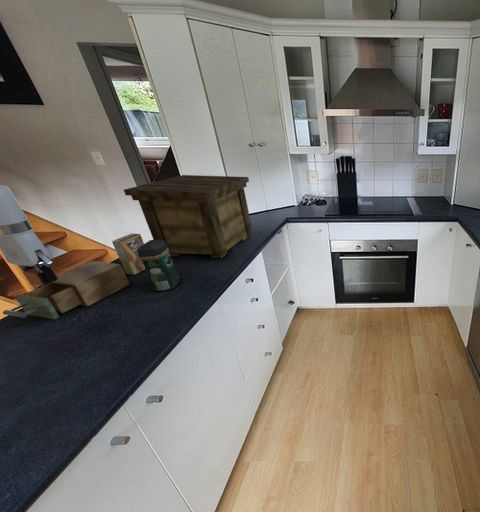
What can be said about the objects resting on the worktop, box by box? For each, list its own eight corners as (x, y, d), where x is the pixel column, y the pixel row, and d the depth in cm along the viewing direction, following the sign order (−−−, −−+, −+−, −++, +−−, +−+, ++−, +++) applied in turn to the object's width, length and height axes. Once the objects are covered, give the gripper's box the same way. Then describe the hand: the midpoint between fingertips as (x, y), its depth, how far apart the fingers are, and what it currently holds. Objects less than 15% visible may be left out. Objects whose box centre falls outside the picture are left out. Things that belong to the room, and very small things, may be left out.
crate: (225, 262, 126) (206, 192, 111) (151, 260, 126) (123, 189, 112) (259, 234, 157) (248, 177, 142) (200, 232, 158) (183, 175, 143)
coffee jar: (160, 280, 111) (144, 238, 103) (183, 278, 113) (168, 236, 105) (149, 293, 103) (130, 249, 94) (173, 290, 105) (156, 247, 96)
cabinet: (87, 306, 95) (75, 284, 91) (58, 301, 97) (45, 279, 93) (129, 284, 108) (120, 264, 104) (103, 280, 110) (93, 260, 106)
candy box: (144, 264, 122) (131, 233, 116) (153, 265, 122) (140, 233, 115) (125, 274, 114) (110, 241, 108) (135, 275, 114) (120, 241, 107)
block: (41, 285, 86) (33, 273, 84) (30, 284, 86) (22, 272, 84) (59, 278, 90) (52, 266, 88) (48, 277, 90) (41, 265, 88)
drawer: (35, 329, 83) (21, 310, 80) (6, 324, 85) (-9, 305, 81) (101, 295, 99) (92, 278, 96) (75, 292, 101) (66, 275, 98)
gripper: (-30, 230, 78) (8, 284, 86) (16, 235, 75) (50, 290, 83) (7, 221, 84) (39, 272, 93) (50, 226, 82) (79, 278, 90)
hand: (44, 280), depth 88 cm, fingers closed on block, 4 cm apart
